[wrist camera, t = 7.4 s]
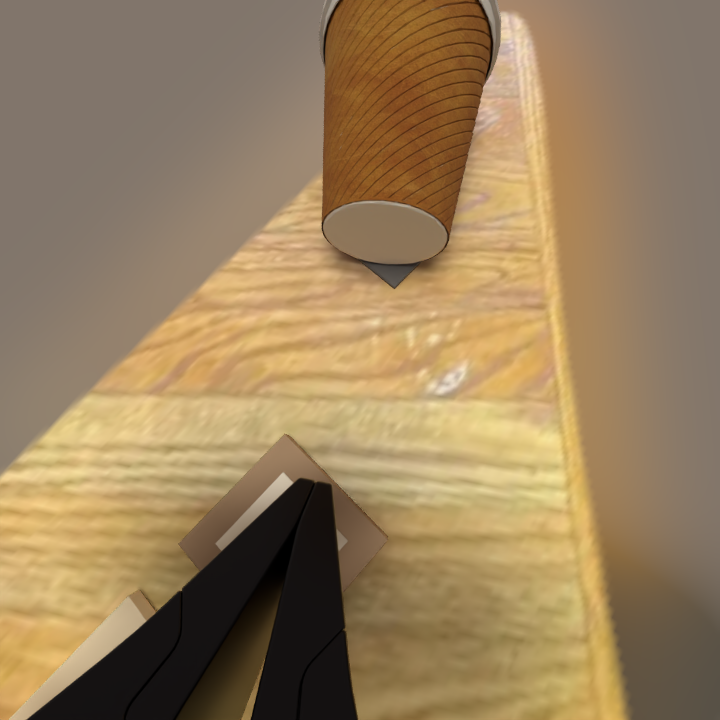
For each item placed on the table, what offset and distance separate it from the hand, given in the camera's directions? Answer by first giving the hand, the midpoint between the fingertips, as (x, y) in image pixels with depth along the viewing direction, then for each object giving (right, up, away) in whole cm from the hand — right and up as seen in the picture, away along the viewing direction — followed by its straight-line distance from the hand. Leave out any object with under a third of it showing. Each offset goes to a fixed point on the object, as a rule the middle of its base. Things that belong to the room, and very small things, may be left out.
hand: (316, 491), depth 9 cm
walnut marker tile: (-3, -5, +9) cm, 10 cm away
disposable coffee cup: (+2, +9, +9) cm, 13 cm away
